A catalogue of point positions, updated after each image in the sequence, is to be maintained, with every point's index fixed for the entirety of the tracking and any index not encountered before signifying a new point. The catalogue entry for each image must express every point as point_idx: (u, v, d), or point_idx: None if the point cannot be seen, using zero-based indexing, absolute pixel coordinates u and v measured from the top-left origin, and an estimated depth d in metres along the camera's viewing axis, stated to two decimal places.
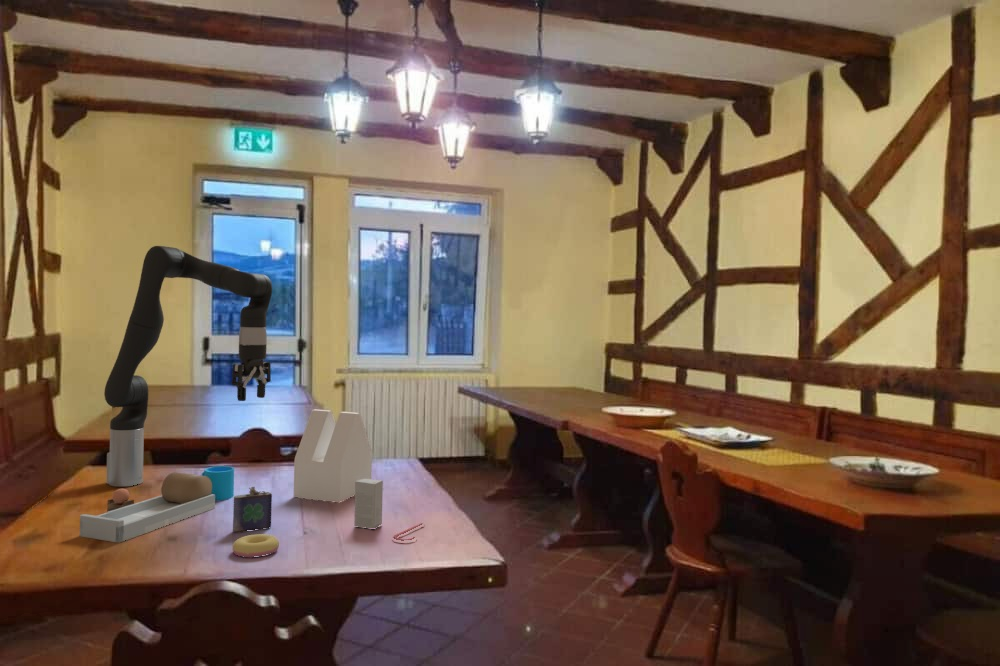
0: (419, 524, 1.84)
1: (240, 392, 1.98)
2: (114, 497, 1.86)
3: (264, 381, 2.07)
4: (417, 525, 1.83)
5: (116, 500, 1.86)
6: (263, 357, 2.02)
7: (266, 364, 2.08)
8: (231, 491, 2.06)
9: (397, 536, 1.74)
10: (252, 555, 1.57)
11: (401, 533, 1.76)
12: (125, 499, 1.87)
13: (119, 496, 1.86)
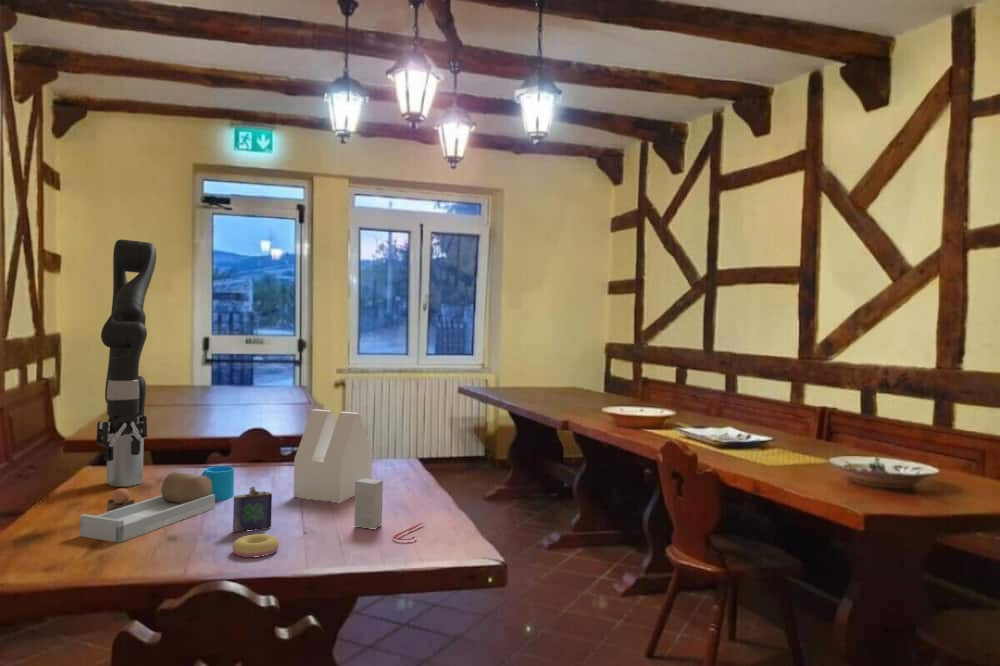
0: (419, 524, 1.84)
1: (106, 451, 1.82)
2: (114, 497, 1.86)
3: (138, 437, 1.91)
4: (417, 525, 1.83)
5: (116, 500, 1.86)
6: (134, 412, 1.86)
7: (141, 418, 1.92)
8: (231, 491, 2.06)
9: (397, 536, 1.74)
10: (252, 555, 1.57)
11: (401, 533, 1.76)
12: (125, 499, 1.87)
13: (119, 496, 1.86)
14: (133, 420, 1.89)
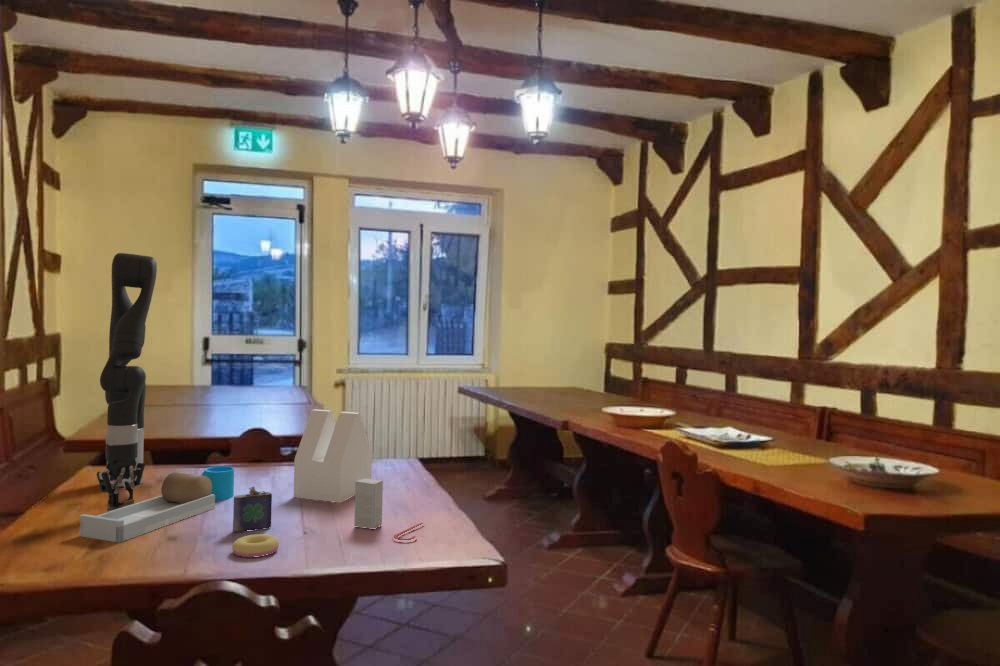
0: (419, 524, 1.84)
1: (111, 499, 1.84)
2: None
3: (131, 485, 1.89)
4: (417, 525, 1.83)
5: None
6: (132, 457, 1.86)
7: (139, 465, 1.92)
8: (231, 491, 2.06)
9: (397, 536, 1.74)
10: (252, 555, 1.57)
11: (401, 533, 1.76)
12: (125, 499, 1.87)
13: (119, 496, 1.86)
14: (132, 464, 1.89)
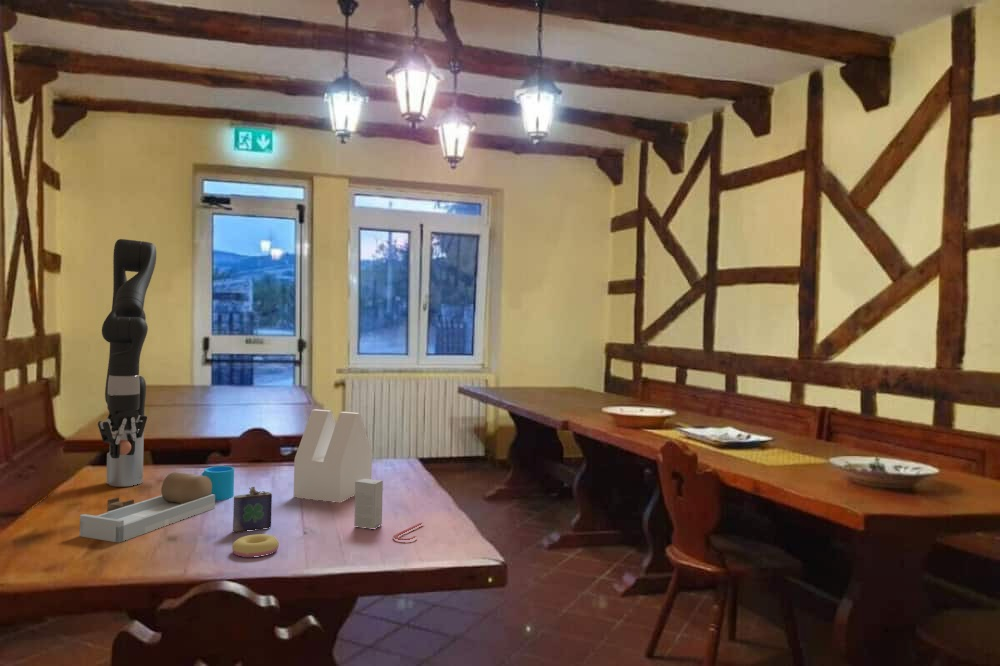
0: (419, 523, 1.84)
1: (113, 449, 1.84)
2: None
3: (133, 436, 1.89)
4: (417, 524, 1.83)
5: None
6: (134, 408, 1.86)
7: (142, 417, 1.92)
8: (231, 491, 2.06)
9: (397, 535, 1.74)
10: (252, 555, 1.57)
11: (401, 532, 1.76)
12: (127, 450, 1.86)
13: (121, 447, 1.85)
14: (134, 415, 1.89)
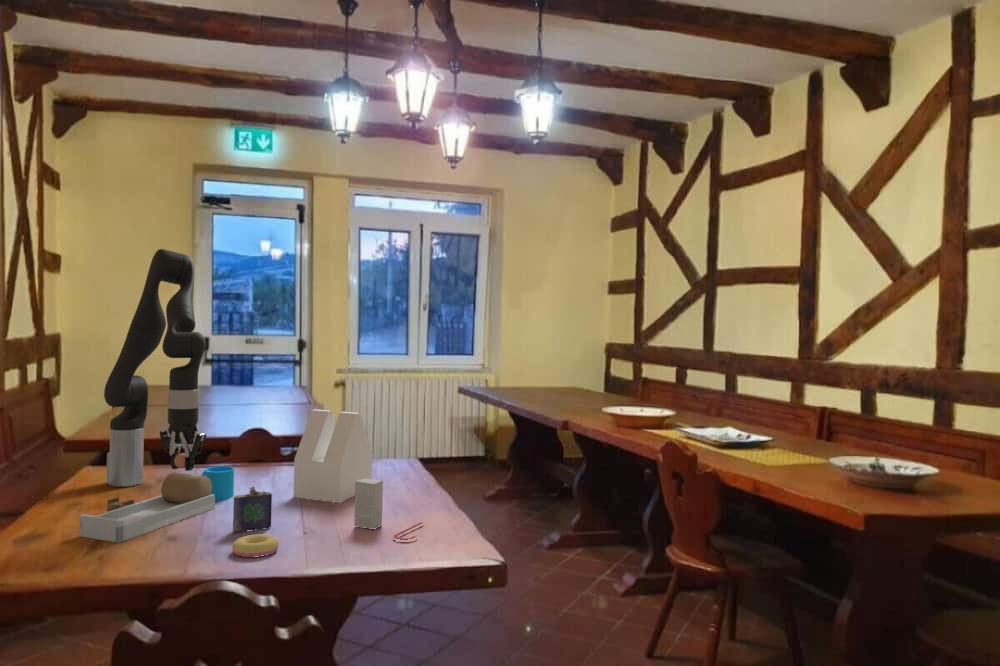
0: (418, 523, 1.84)
1: None
2: None
3: (186, 452, 1.88)
4: (416, 524, 1.83)
5: None
6: (172, 422, 1.86)
7: None
8: (231, 491, 2.06)
9: (397, 535, 1.74)
10: (252, 555, 1.57)
11: (401, 532, 1.76)
12: (176, 464, 1.89)
13: (174, 459, 1.90)
14: (187, 431, 1.88)
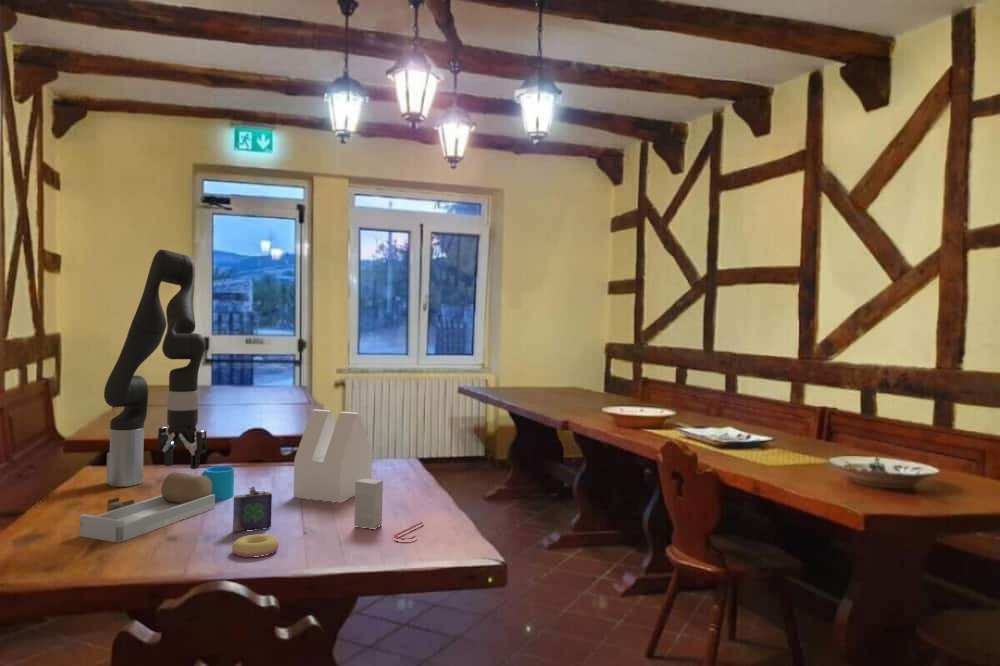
0: (418, 523, 1.84)
1: None
2: None
3: (191, 451, 1.88)
4: (416, 524, 1.83)
5: None
6: (172, 424, 1.86)
7: None
8: (231, 491, 2.06)
9: (397, 535, 1.74)
10: (252, 555, 1.57)
11: (401, 532, 1.76)
12: None
13: None
14: (186, 432, 1.88)
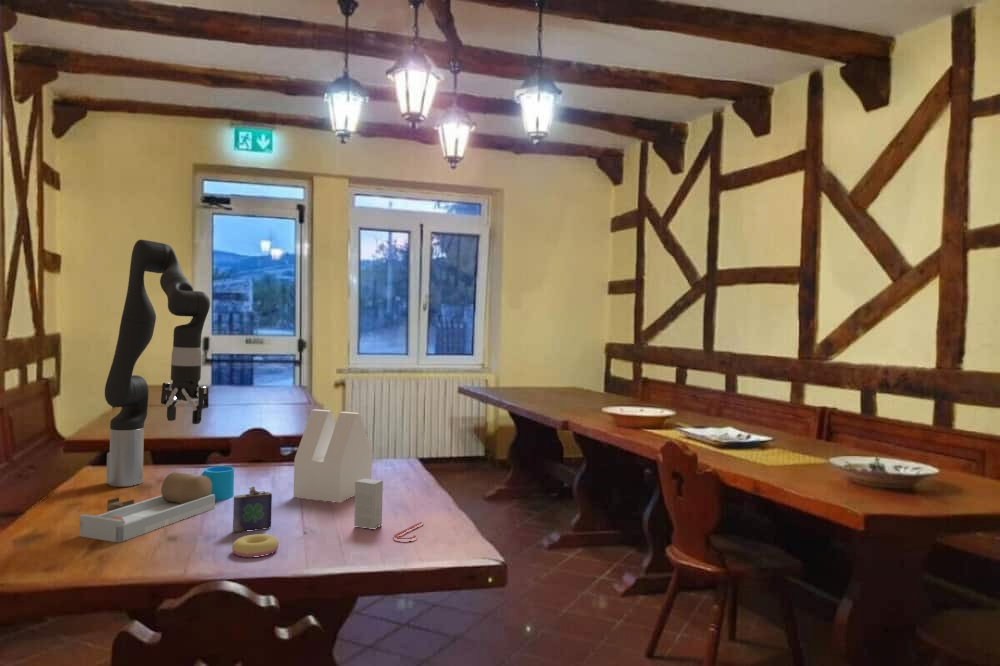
0: (418, 523, 1.85)
1: None
2: None
3: (193, 406, 1.91)
4: (416, 524, 1.84)
5: None
6: (175, 378, 1.90)
7: None
8: (231, 491, 2.06)
9: None
10: (251, 555, 1.57)
11: (401, 532, 1.77)
12: None
13: None
14: (189, 388, 1.92)
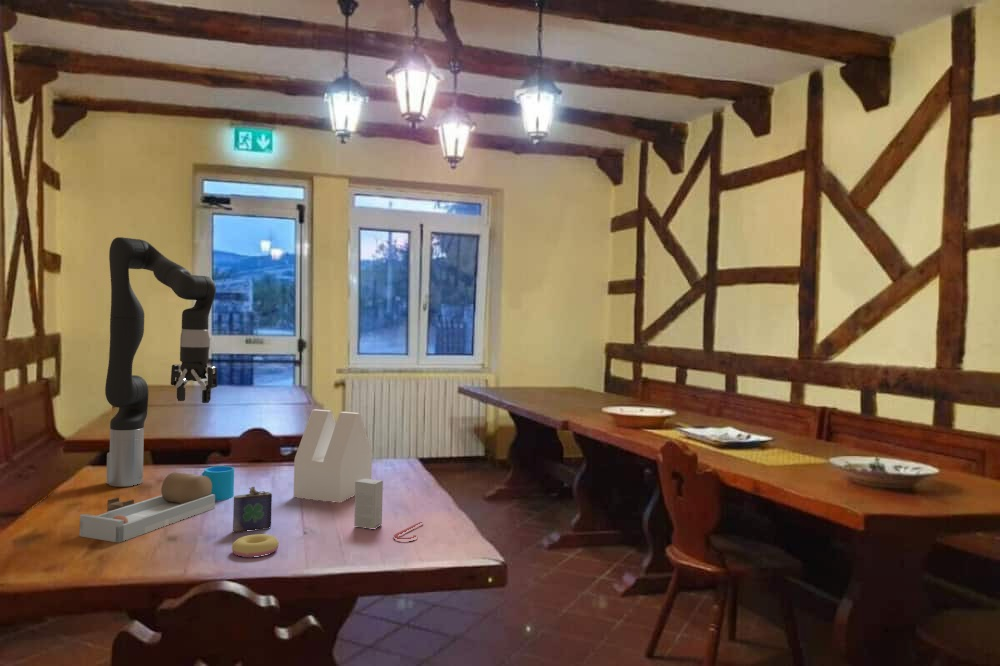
0: (418, 523, 1.85)
1: None
2: None
3: (202, 386, 1.99)
4: (416, 524, 1.84)
5: None
6: (184, 359, 1.98)
7: None
8: (231, 491, 2.06)
9: None
10: (251, 555, 1.57)
11: (401, 532, 1.77)
12: (114, 518, 1.70)
13: None
14: (198, 368, 2.00)
